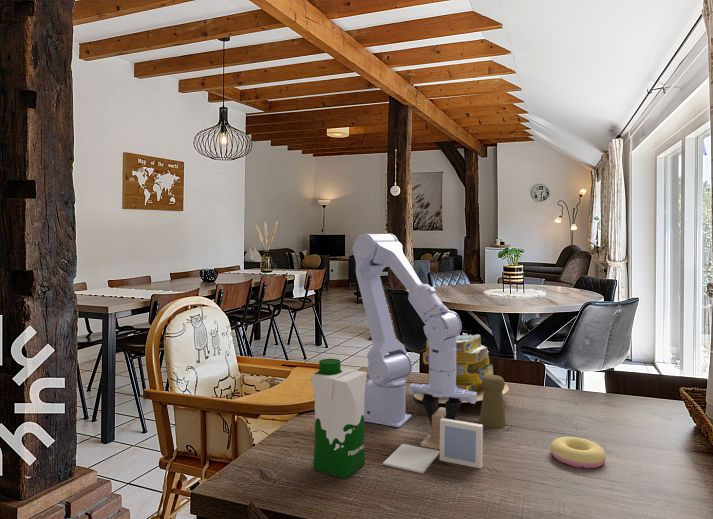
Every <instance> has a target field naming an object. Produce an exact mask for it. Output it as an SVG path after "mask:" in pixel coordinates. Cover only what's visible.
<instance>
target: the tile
mask: <svg viewBox="0 0 713 519" xmlns="http://www.w3.org/2000/svg"><path fill="white" fill-rule="evenodd" d="M483 429H484V425H482V424H480V423H474V422H469V421H462V420H457V419H456V420H455V419H454V420H451V419H445V418H441V420H440V450H439V451H440V453H439V461H443V462H447V463H452V464H456V465H463V466H466V467H472V468H475V469H482V467H483V448H484V447H483V445H484V444H483V442H484V441H483V437H484V436H483V435H484V432H483V431H484V430H483Z"/></svg>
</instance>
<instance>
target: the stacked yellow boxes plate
mask: <svg viewBox="0 0 713 519" xmlns="http://www.w3.org/2000/svg"><path fill="white" fill-rule="evenodd" d="M481 336H482V335H480V334H478V333H477V334H474V335H473V334H464V335H463V334H461V335H460V334H459V335H458V336H456V387H457V388H460V389H464V390H468V391H472V392H477V401H476V402H478V401H479V402H480V401H482V400H483V393H484V389H483V387H482V379H483V377H484V376H486V375H494V367H493V363H490V359H489V354H490V351H488V350H489V348H488V347H487V346H485V345H482V338H481ZM425 347H426V351H425V352H423V353H422V358H423V359H422V360H423V364H424V365H429V346H428V339H427V340H426V342H425ZM427 382H429V372H427ZM509 390H510V388H509V386H508V384H505V386H504V389H503V391H502V394H503V395H504V394H506V393H508V392H509ZM423 397H424V395H419V394H414V395H413V398H414V399H416V400H418V401H421V402H422V399H423ZM448 400H449V399H446V398H439V403H438V404H445V403H446V402H447V401H448ZM462 403H467V402H466V401H462ZM462 403H461V404H462Z"/></svg>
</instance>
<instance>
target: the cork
mask: <svg viewBox="0 0 713 519" xmlns="http://www.w3.org/2000/svg"><path fill="white" fill-rule="evenodd" d="M505 385H506V383H505V380H504V378H503V376H500V375H495V374H493V375H486V376H484V377H483V379H482V387H483V389H484V393H483V400H481V408H480V414H479V420H478V421H479V424H481V425H483V427H488V428H494V429H495V428H497V429H498V428H503V427H505V426H507V423H506V422H507V420H506V413H505V412H506V411H505V404H504V396H503V395H504V394H502V391H503V389H504V386H505Z"/></svg>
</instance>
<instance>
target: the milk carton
mask: <svg viewBox="0 0 713 519" xmlns="http://www.w3.org/2000/svg"><path fill="white" fill-rule="evenodd" d="M318 368H319V370H317V372H314V373H313V374H311V375H310V381H311V385H312V386H311V387H312V388H313V390H312V392H313V395H314V448H313V449H314V450H313V451H314V452H313V468H312V469H313V470H315V471H318V472H321V473H325V474H327V475H330V476H331V475H332V476H334V477H337V478H341V479H343V480H345V479H346V478H348V477H349V476H351V475H352V474H353V473H355V472H357V471H358V470H359V469H360V468H362V467H363V466H364V465H365V421H364V394H365V385H366V383H367V375H368V371H367V372H366V371H361V370H357V369H353V368H346V367H342V366H341V360H340V359H338V358H324V359H320V360H319V363H318Z"/></svg>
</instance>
